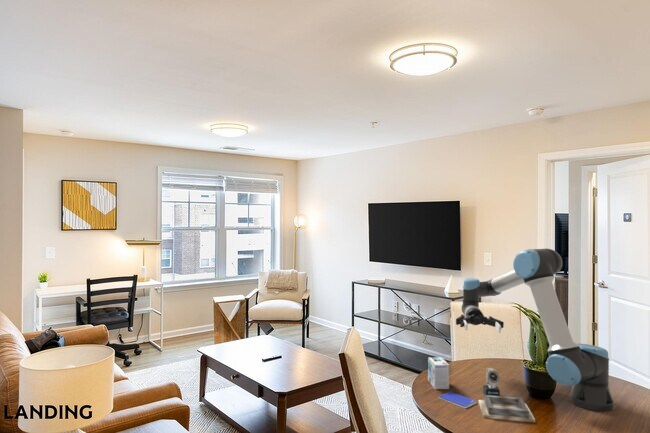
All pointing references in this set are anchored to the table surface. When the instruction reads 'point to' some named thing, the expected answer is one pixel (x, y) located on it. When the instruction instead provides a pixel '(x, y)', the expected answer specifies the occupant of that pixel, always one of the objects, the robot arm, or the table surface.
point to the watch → (491, 383)
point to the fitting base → (505, 408)
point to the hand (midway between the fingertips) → (483, 328)
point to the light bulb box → (438, 373)
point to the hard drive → (458, 399)
